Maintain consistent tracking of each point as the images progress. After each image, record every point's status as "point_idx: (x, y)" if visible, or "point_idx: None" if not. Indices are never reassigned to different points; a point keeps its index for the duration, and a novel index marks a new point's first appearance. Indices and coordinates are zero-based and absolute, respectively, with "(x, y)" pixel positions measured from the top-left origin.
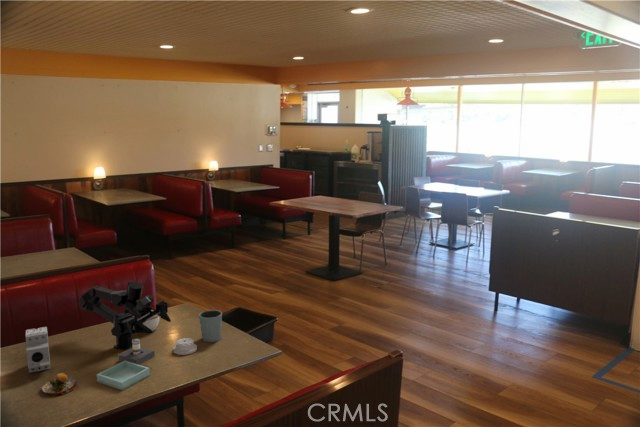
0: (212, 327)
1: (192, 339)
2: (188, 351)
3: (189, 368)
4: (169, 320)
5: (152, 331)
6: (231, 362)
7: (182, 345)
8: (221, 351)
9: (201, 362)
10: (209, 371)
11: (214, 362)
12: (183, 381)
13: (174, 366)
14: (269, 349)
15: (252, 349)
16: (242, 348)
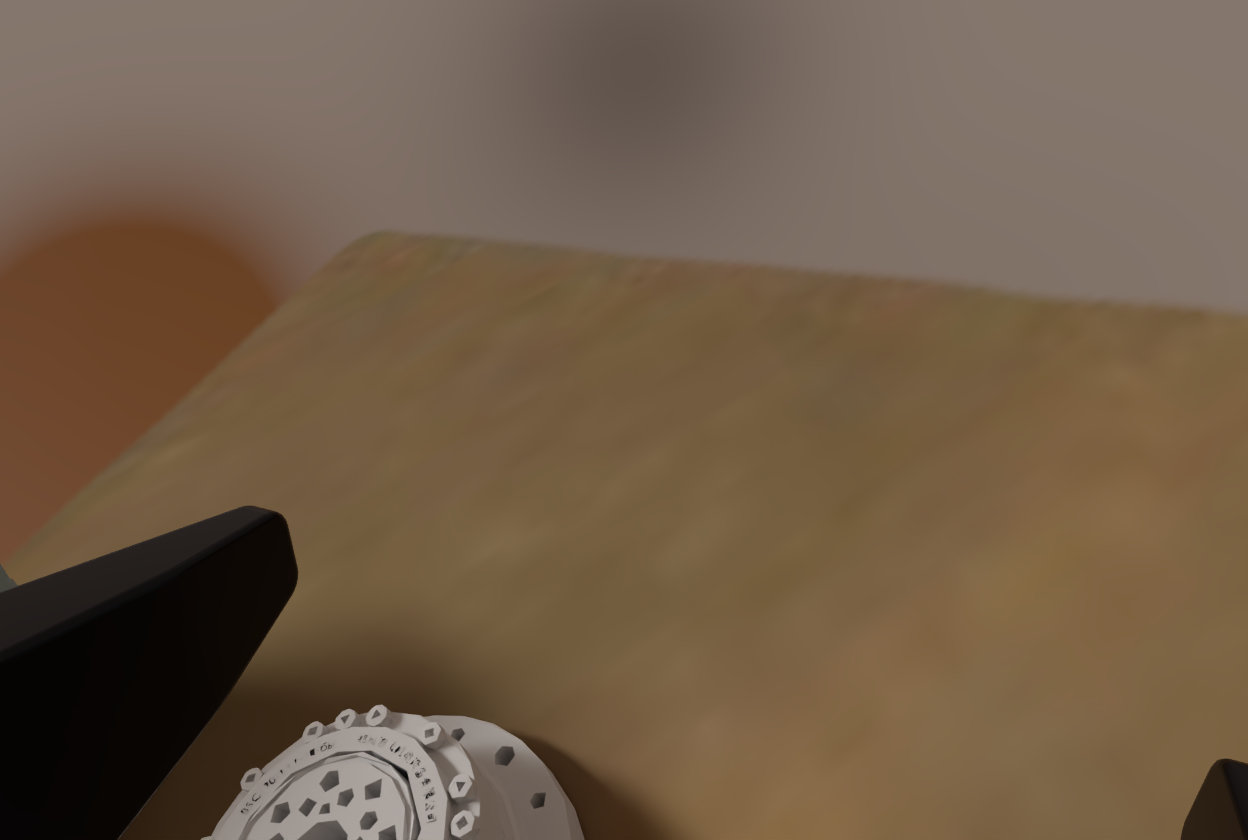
0: (10, 585)
1: (246, 783)
2: (515, 752)
3: (914, 486)
4: (273, 547)
5: (1231, 761)
6: (612, 301)
7: (472, 806)
8: (402, 492)
9: (709, 483)
10: (861, 310)
11: (661, 392)
12: (1237, 332)
13: (982, 683)
14: (336, 268)
15: (341, 337)
16: (324, 398)
